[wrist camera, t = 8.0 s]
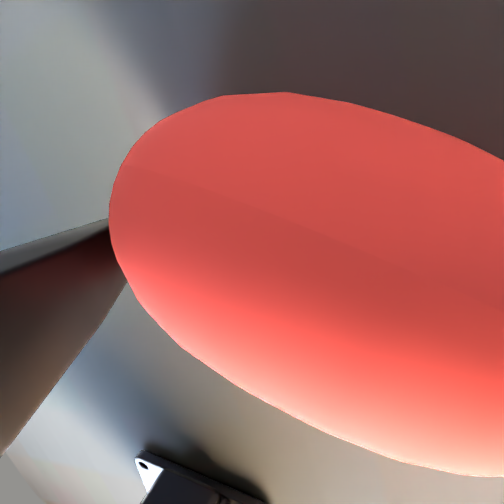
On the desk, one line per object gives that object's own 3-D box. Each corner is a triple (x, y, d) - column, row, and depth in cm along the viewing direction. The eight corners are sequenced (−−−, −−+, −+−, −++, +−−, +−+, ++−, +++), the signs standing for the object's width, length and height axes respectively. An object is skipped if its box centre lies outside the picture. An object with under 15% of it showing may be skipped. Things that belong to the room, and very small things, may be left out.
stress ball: (331, -84, 9) (-13, 53, 6) (909, 276, 5) (564, 814, 3) (299, 128, 13) (90, 249, 11) (595, 396, 10) (370, 647, 8)
